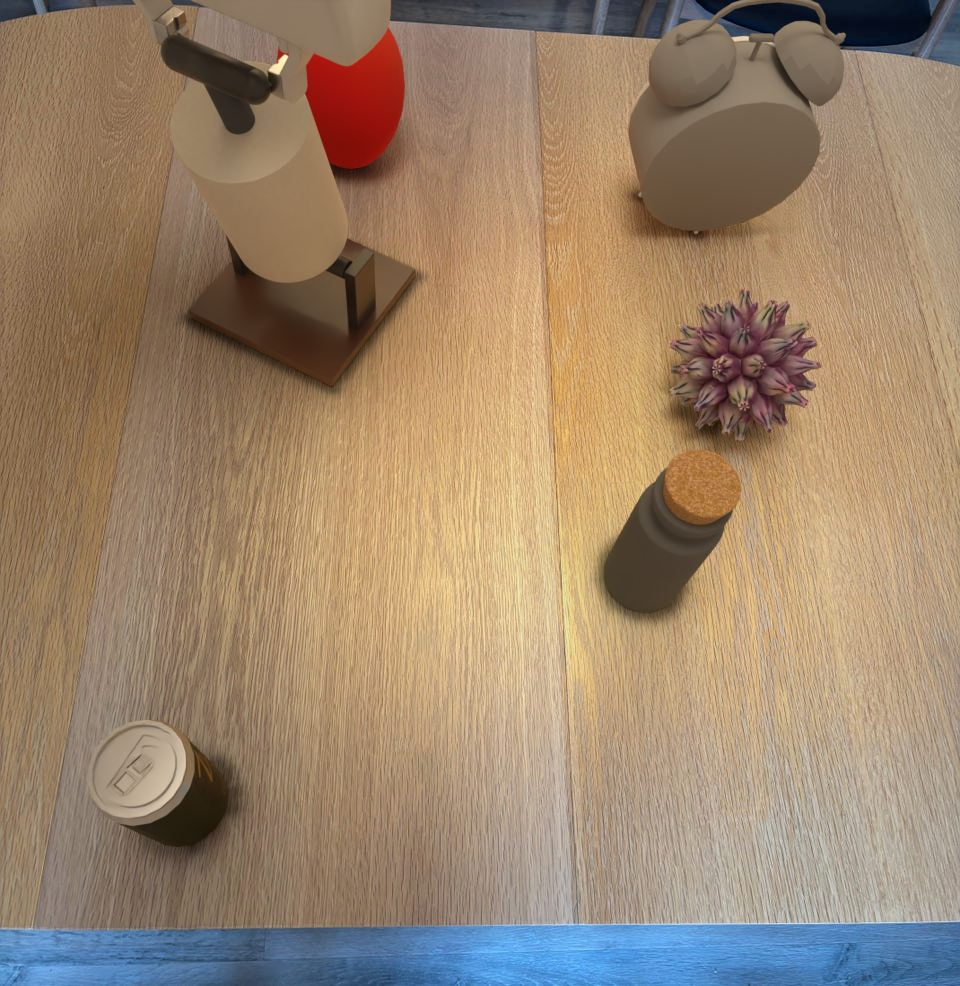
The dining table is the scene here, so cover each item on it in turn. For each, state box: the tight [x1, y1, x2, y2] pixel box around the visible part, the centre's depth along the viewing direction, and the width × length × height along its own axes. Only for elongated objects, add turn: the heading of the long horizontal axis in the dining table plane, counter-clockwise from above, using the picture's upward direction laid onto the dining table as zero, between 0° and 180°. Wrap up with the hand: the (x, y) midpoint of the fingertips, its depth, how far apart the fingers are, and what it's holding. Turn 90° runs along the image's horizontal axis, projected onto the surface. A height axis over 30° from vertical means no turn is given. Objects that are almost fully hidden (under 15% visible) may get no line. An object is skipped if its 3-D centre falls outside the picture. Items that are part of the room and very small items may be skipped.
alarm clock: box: [626, 0, 847, 235], centre depth 74 cm, size 16×9×22 cm, turn 97°
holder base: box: [187, 234, 416, 388], centre depth 72 cm, size 14×14×8 cm
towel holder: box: [160, 34, 352, 283], centre depth 60 cm, size 22×9×9 cm
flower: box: [668, 288, 822, 442], centre depth 68 cm, size 12×12×12 cm
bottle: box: [603, 448, 742, 613], centre depth 58 cm, size 6×6×15 cm
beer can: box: [86, 719, 229, 848], centre depth 49 cm, size 5×5×12 cm
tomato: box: [276, 26, 406, 170], centre depth 78 cm, size 13×11×14 cm
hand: (230, 68), depth 51 cm, fingers closed on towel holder, 7 cm apart
